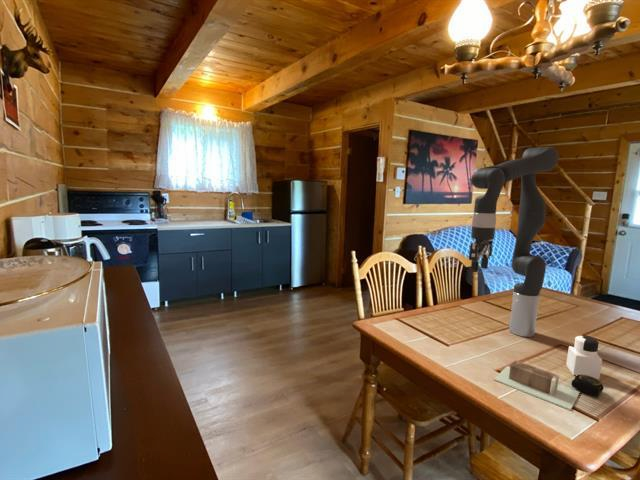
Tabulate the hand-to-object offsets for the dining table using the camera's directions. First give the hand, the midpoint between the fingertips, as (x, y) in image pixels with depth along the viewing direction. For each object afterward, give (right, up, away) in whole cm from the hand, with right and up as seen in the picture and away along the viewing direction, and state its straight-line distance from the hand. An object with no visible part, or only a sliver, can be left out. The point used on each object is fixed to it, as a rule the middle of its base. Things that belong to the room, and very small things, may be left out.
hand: (479, 270), depth 126 cm
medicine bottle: (+29, -33, -11) cm, 45 cm away
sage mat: (+8, -34, -20) cm, 40 cm away
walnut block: (+3, -30, -15) cm, 34 cm away
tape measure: (+22, -35, -22) cm, 47 cm away
